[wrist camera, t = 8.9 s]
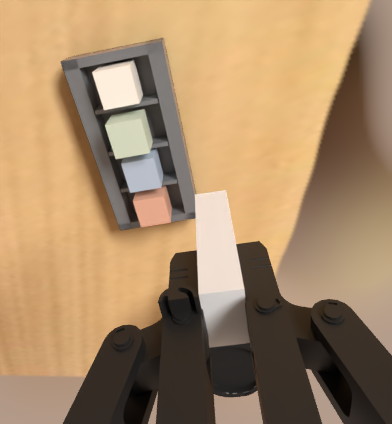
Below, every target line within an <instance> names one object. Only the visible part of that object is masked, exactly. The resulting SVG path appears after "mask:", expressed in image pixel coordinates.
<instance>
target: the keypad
mask: <svg viewBox="0 0 392 424" xmlns="http://www.w3.org/2000/svg"><path fill="white" fill-rule="evenodd" d="M133 59H134V61H135V65H136V69H137V73H138V77H139V81H140V85H141V89H142V93H143V96H142V99H141V101H140V103H139V104H134V105H129V106H124V107H118V108H113V109H108V110H104V109H103V105H102V102H101V99H100V96H99V93H98V90H97V86H96V83H95V80H94V77H93V74H92V72H93V71H95V70H96V69H97V68H98V67H99V66H103V65H108V64H113V63H118V62H123V61H128V60H133ZM61 64H62V67H63V70H64V73H65V76H66V79H67V81H68V84H69V87H70V90H71V93H72V96H73V98H74V101H75V104H76V107H77V110H78V112H79V115H80V118H81V121H82V124H83V127H84V129H85V132H86V135H87V138H88V141H89V143H90V146H91V149H92V152H93V155H94V158H95V160H96V163H97V166H98V169H99V172H100V175H101V177H102V180H103V183H104V186H105V189H106V191H107V194H108V197H109V200H110V203H111V206H112V208H113V211H114V214H115V217H116V220H117V223H118V225H119V228H120V230H127V229H133V228H139V227H141V225H140V222H139V219H138V216H137V213H136V210H135V207H134V203H133V199H134V196H135V192H133V193H130V191H129V188H128V184H127V181H126V178H125V175H124V172H123V169H122V165H121V163H122V160H123V158H120V159H115V155H114V152H113V149H112V146H111V143H110V140H109V137H108V134H107V131H106V127H105V125H106V123H107V121H108V120H109V118H110V117H111V115H116V114H121V113H126V112H131V111H137V110H142V109H145V113H146V117H147V121H148V125H149V128H150V132H151V136H152V140H153V143H152V147H151V149H152V148H157V151H158V155H159V159H160V163H161V167H162V171H163V181H162V186H164V185H166V187H167V191H168V195H169V199H170V203H171V207H172V212H171V222H175V221H182V220H188V219H194V218H196V213H195V194H196V190H195V185H194V181H193V176H192V171H191V166H190V162H189V157H188V152H187V147H186V142H185V138H184V133H183V128H182V123H181V118H180V114H179V109H178V104H177V99H176V94H175V90H174V85H173V80H172V75H171V70H170V66H169V61H168V56H167V51H166V46H165V42H164V38H160V39H155V40H150V41H146V42H141V43H136V44H131V45H126V46H121V47H116V48H112V49H107V50H102V51H97V52H92V53H87V54H82V55H78V56H73V57H68V58H67V59H65V60H63V61H61Z"/></svg>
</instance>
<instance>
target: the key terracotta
mask: <svg viewBox="0 0 392 424" xmlns="http://www.w3.org/2000/svg"><path fill="white" fill-rule="evenodd" d="M133 203H134V207H135V210H136V213H137V216H138V219H139V222H140V225H141V227H146V226H153V225H159V224H165V223H171V212H172V207H171V203H170V199H169V195H168V191H167V187H166V185H164V186H162V188H156V189H150V190H145V191H139V192H135V196H134V199H133Z"/></svg>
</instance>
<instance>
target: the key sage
mask: <svg viewBox="0 0 392 424" xmlns="http://www.w3.org/2000/svg"><path fill="white" fill-rule="evenodd" d="M105 127H106V131H107V134H108V137H109V140H110V143H111V146H112V149H113V152H114V155H115V159H120V158H126V157H131V156H137V155H142V154H148V153H150V151H151V147H152V143H153V140H152V136H151V132H150V128H149V125H148V121H147V117H146V113H145V109H142V110H137V111H131V112H126V113H121V114H116V115H111V117H110V118H109V120H108V121H107V123H106V125H105Z"/></svg>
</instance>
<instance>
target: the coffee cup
mask: <svg viewBox="0 0 392 424" xmlns="http://www.w3.org/2000/svg"><path fill="white" fill-rule="evenodd" d="M209 353H210V358H211V364H212V379H213V394H216V395H218V396H223V397H240V396H247V395H250V394H252V393H254V392H256V391H257V384H256V378H255V373H254V370H253V363H252V354H251V346H250V343H245V344H237V345H228V346H220V347H211V348H210V347H209Z"/></svg>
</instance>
